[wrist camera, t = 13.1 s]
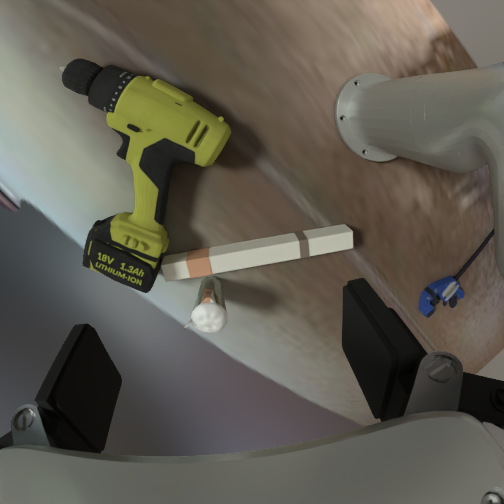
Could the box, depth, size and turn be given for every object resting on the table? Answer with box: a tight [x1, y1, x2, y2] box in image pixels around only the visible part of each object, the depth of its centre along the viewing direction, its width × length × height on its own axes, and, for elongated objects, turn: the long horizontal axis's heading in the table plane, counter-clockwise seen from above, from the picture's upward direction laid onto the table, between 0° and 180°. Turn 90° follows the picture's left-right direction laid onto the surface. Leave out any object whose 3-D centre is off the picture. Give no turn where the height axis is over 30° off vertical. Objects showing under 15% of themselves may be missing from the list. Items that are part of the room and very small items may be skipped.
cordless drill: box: [60, 59, 231, 293], centre depth 33 cm, size 7×25×25 cm
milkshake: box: [184, 277, 228, 333], centre depth 39 cm, size 4×5×10 cm
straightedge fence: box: [161, 224, 353, 282], centre depth 41 cm, size 26×3×3 cm, turn 99°
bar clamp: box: [419, 229, 494, 318], centre depth 47 cm, size 32×2×10 cm
